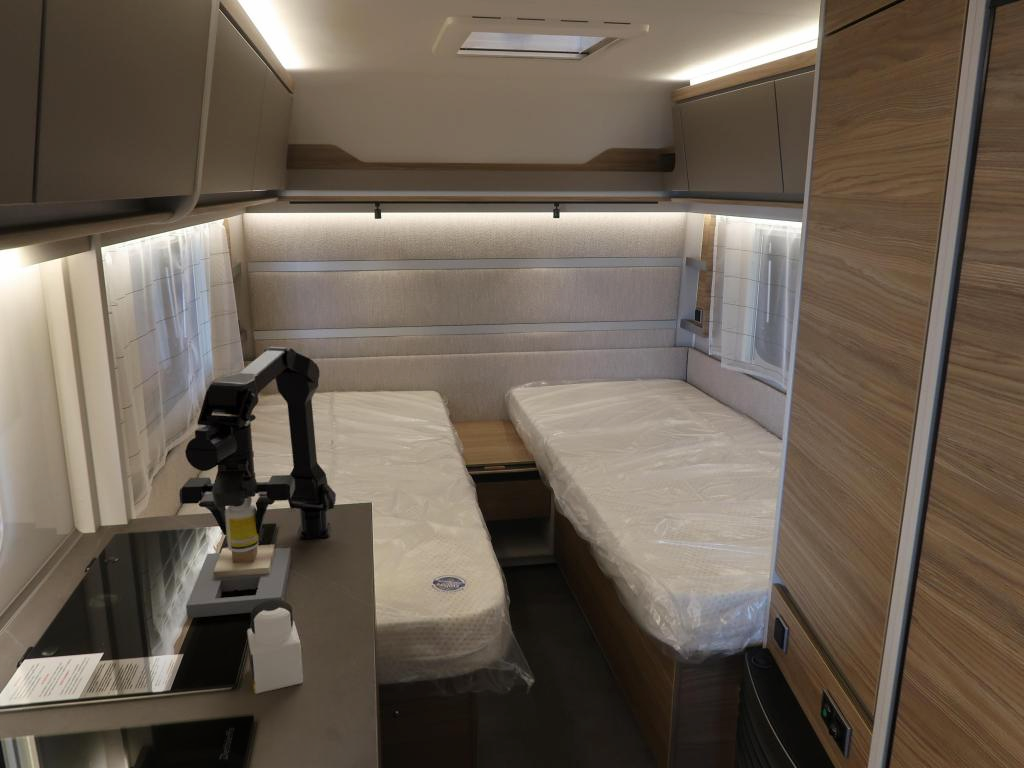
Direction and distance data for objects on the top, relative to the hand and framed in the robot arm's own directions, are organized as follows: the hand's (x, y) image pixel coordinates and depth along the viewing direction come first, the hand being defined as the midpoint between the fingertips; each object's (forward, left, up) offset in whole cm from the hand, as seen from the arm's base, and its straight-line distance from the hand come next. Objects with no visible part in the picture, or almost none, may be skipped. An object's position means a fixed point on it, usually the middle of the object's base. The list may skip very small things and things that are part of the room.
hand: (242, 533), depth 140 cm
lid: (-10, -1, -11) cm, 14 cm away
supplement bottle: (0, 0, -3) cm, 3 cm away
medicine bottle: (+25, +8, -13) cm, 29 cm away
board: (-5, -1, -13) cm, 14 cm away
